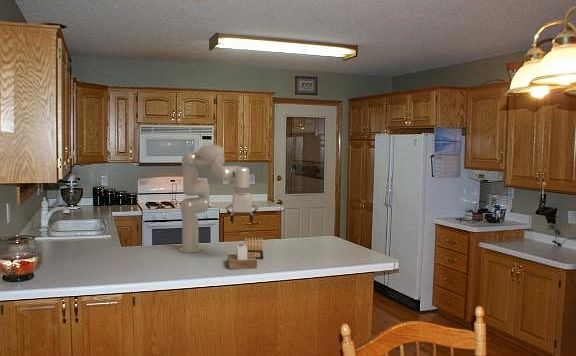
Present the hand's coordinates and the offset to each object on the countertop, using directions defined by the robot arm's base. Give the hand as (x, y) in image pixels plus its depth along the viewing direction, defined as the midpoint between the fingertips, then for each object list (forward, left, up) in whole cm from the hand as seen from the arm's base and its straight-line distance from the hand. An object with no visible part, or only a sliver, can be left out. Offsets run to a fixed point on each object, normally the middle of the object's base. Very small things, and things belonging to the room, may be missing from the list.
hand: (241, 222), depth 268 cm
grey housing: (0, 0, -19) cm, 19 cm away
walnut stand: (0, 0, -23) cm, 23 cm away
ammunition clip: (-14, +8, -23) cm, 28 cm away
